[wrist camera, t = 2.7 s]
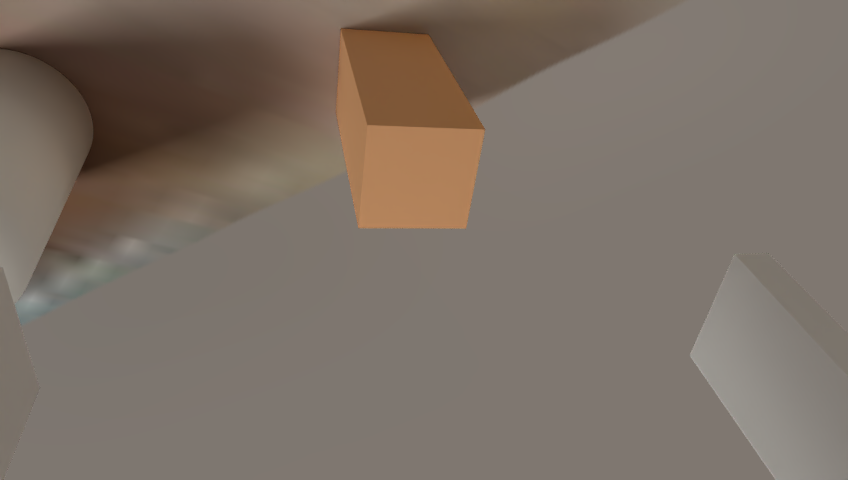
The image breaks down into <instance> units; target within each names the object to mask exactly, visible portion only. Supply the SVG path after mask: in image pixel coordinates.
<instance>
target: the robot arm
mask: <svg viewBox="0 0 848 480" xmlns="http://www.w3.org/2000/svg"><path fill="white" fill-rule="evenodd" d="M690 357H691V358H692V359H693V361H694V362H695V364H696V365H697V367H698V368H699V370H700V371H701V373H702V374H703V375H704V377H705V378H706V380H707V381H708V383H709V384H710V386H711V387H712V388H713V390H714V391H715V393H716V394H717V396H718V397H719V399H720V400H721V401H722V403H723V404H724V406H725V407H726V409H727V410H728V412H729V413H730V414H731V416H732V418H733V419H734V420H735V422H736V423H737V425H738V426H739V428H740V429H741V430H742V432H743V433H744V435H745V436H746V438H747V439H748V441H749V442H750V444H751V445H752V447H753V448H754V449H755V451H756V452H757V454H758V455H759V457H760V458H761V459H762V461H763V463H764V464H765V465H766V467H767V468H768V470H769V471H770V473H771V474H772V476H773V477H774V478H775V480H848V333H847V331H845V329H844V328H843V327H842V326H840V324H839V323H838V322H837V321H836V320H835V319H833V317H832V316H831V315H830V314H829V313H827V311H826V310H825V309H824V308H823V307H822V306H821V305H820V304H819V303H818V302H817V301H815V299H814V298H813V297H812V296H810V294H809V293H808V292H807V291H805V290H804V288H803V287H802V286H801V285H800V284H798V282H797V281H796V280H795V279H794V278H793V277H792V276H791V275H790V274H789V273H788V272H787V271H786V270H785V269H784V268H783V267H782V266H781V265H780V264H779V263H778V262H777V261H776V260H775V259H774V258H773V257H772V256H771V255H770V254H769V253H758V254H756V253H755V254H734V257H733V258H732V261H731V263H730V265H729V267H728V270H727V272H726V274H725V276H724V279H723V281H722V283H721V286H720V288H719V290H718V292H717V295H716V297H715V299H714V301H713V304H712V306H711V309H710V311H709V313H708V316H707V317H706V320H705V322H704V324H703V326H702V329H701V331H700V333H699V336H698V338H697V340H696V343H695V345H694V347H693V349H692V351H691V354H690ZM39 389H40V386H39V383H38V380H37V376H36V373H35V370H34V366H33V363H32V360H31V357H30V354H29V350H28V347H27V344H26V341H25V338H24V334H23V331H22V328H21V324H20V321H19V318H18V315H17V312H16V308H15V305H14V302H13V299H12V295H11V292H10V289H9V286H8V282H7V279H6V276H5V273H4V270H3V267H0V480H4V478H5V475H6V473H7V470H8V468H9V465H10V463H11V460H12V458H13V455H14V453H15V450H16V448H17V445H18V442H19V440H20V437H21V434H22V432H23V430H24V427H25V425H26V422H27V420H28V417H29V415H30V412H31V409H32V407H33V404H34V402H35V399H36V397H37V394H38V392H39Z"/></svg>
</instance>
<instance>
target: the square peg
mask: <svg viewBox="0 0 848 480" xmlns="http://www.w3.org/2000/svg"><path fill="white" fill-rule="evenodd" d="M336 115H337V121H338V126H339V131H340V136H341V141H342V146H343V151H344V157H345V162H346V167H347V172H348V177H349V182H350V187H351V193H352V198H353V203H354V208H355V213H356V218H357V223H358V228H466V226H467V221H468V216H469V211H470V206H471V200H472V195H473V190H474V185H475V180H476V174H477V169H478V164H479V159H480V154H481V148H482V143H483V138H484V133H485V129H484V127H483V125H482V123H481V122H480V120H479V118H478V117H477V115H476V113H475V112H474V110H473V108H472V107H471V105H470V103H469V102H468V100H467V98H466V97H465V95H464V93H463V92H462V90H461V88H460V87H459V85H458V83H457V81H456V80H455V78H454V76H453V75H452V73H451V71H450V70H449V68H448V66H447V65H446V63H445V61H444V60H443V58H442V56H441V55H440V53H439V51H438V50H437V48H436V46H435V45H434V43H433V41H432V39H431V38H430V36H429V35H428V34H414V33H399V32H385V31H371V30H356V29H342V28H341V33H340V50H339V67H338V84H337V102H336Z"/></svg>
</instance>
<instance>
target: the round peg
mask: <svg viewBox="0 0 848 480" xmlns="http://www.w3.org/2000/svg"><path fill="white" fill-rule="evenodd" d="M92 141H93V122H92V117H91V114H90V111H89V108H88V106H87V104H86V102H85V100H84V98H83V97H82V95H81V94H80V93H79V91H78V90H77V88H76V87H75V86H74V85H73V84H72V83H71V82H70V81H69V80H68V79H67V78H66V77H65V76H64V75H63V74H61V73H60V72H59V71H57V70H56V69H55V68H53V67H52V66H50V65H48V64H46V63H45V62H43V61H41V60H39V59H37V58H34V57H32V56H30V55H27V54H24V53H21V52H16V51H12V50H6V49H0V267H3V270H4V273H5V276H6V279H7V282H8V286H9V289H10V292H11V295H12V299H13V302H14V304H15V303H16V302H17V301H18V300H19V299H20V297H21V296H22V294H23V293H24V291H25V289H26V287H27V285H28V283H29V281H30V278H31V276H32V274H33V272H34V270H35V268H36V266H37V263H38V261H39V259H40V257H41V255H42V253H43V250H44V248H45V246H46V244H47V242H48V240H49V237H50V235H51V233H52V231H53V229H54V227H55V224H56V222H57V220H58V218H59V216H60V214H61V211H62V209H63V207H64V205H65V203H66V201H67V198H68V196H69V194H70V192H71V190H72V188H73V185H74V183H75V181H76V179H77V177H78V175H79V172H80V170H81V168H82V166H83V164H84V162H85V160H86V157H87V155H88V153H89V151H90V148H91V145H92Z"/></svg>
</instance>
